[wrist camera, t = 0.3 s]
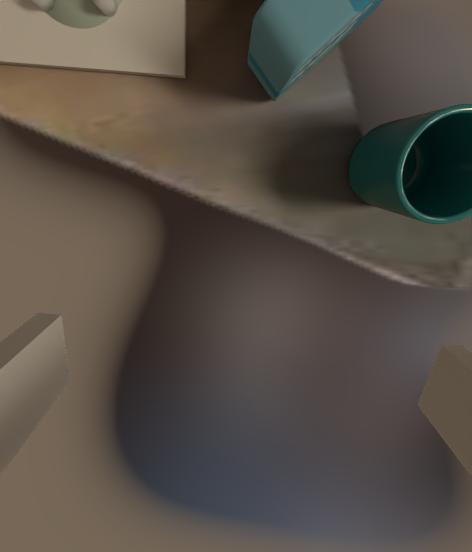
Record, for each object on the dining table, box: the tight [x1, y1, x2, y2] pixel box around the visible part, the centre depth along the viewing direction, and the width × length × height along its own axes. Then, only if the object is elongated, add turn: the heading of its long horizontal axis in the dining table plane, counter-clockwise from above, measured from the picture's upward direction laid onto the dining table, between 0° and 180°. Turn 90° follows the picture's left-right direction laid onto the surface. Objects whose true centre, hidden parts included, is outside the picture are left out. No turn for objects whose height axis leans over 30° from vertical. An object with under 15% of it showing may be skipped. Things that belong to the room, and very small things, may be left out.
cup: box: [349, 104, 472, 224], centre depth 29 cm, size 9×12×11 cm
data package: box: [247, 0, 383, 101], centre depth 24 cm, size 12×4×12 cm, turn 130°
